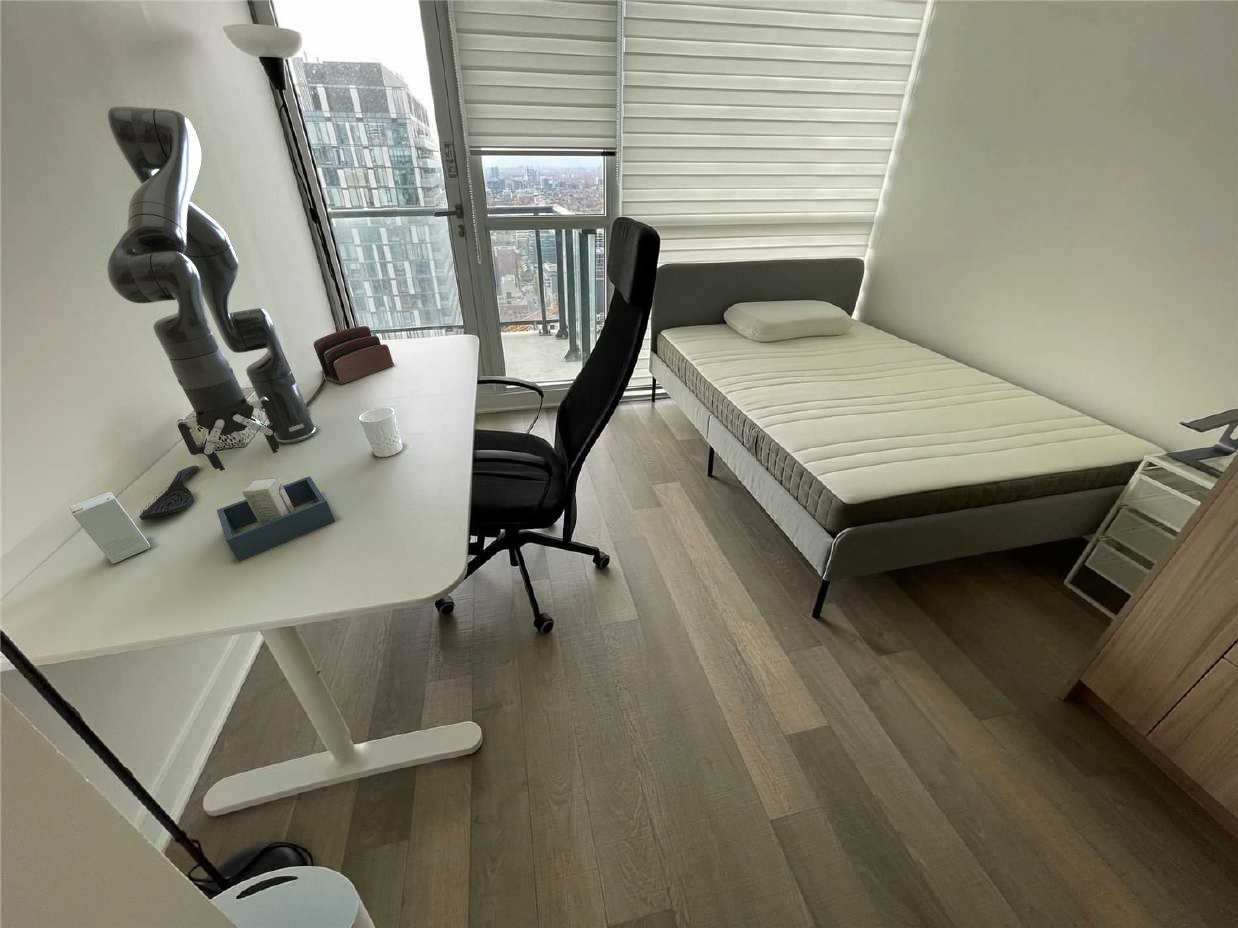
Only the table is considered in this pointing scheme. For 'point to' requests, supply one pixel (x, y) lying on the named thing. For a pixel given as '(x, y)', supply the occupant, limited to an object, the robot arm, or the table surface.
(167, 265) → the robot arm
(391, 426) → the white cup
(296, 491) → the blue open box
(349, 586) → the table surface
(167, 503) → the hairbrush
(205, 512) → the table surface
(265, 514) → the white rectangular carton
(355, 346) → the letter holder
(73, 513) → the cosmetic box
